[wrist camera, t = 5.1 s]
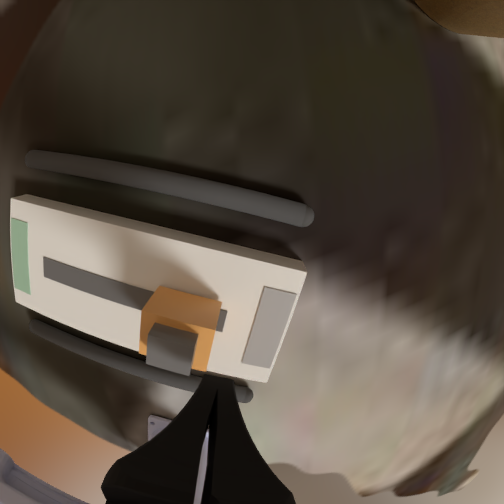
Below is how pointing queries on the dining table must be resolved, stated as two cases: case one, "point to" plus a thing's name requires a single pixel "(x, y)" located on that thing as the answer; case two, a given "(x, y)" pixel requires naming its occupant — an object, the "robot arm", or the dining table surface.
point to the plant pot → (467, 16)
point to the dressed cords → (172, 186)
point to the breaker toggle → (178, 330)
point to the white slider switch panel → (150, 280)
